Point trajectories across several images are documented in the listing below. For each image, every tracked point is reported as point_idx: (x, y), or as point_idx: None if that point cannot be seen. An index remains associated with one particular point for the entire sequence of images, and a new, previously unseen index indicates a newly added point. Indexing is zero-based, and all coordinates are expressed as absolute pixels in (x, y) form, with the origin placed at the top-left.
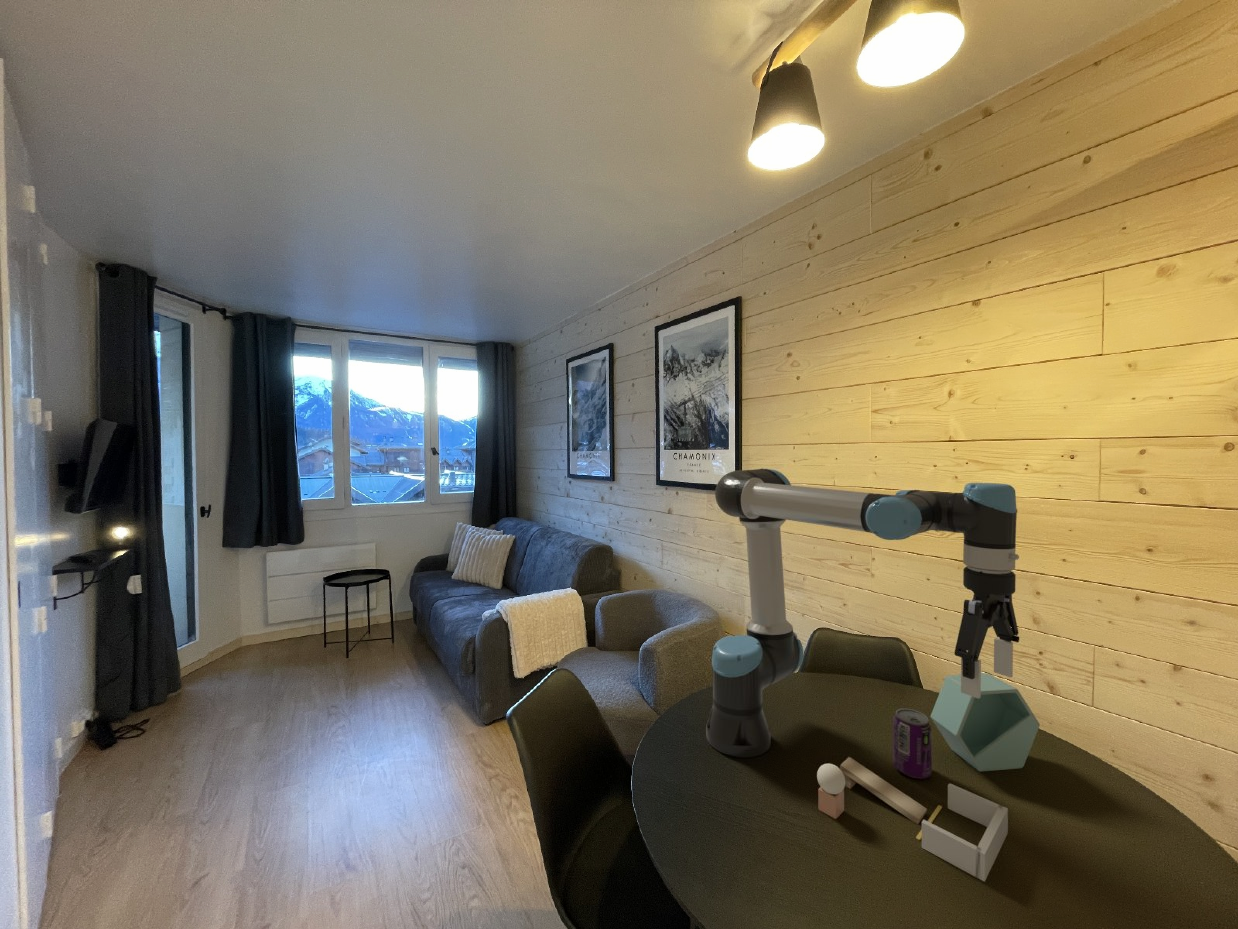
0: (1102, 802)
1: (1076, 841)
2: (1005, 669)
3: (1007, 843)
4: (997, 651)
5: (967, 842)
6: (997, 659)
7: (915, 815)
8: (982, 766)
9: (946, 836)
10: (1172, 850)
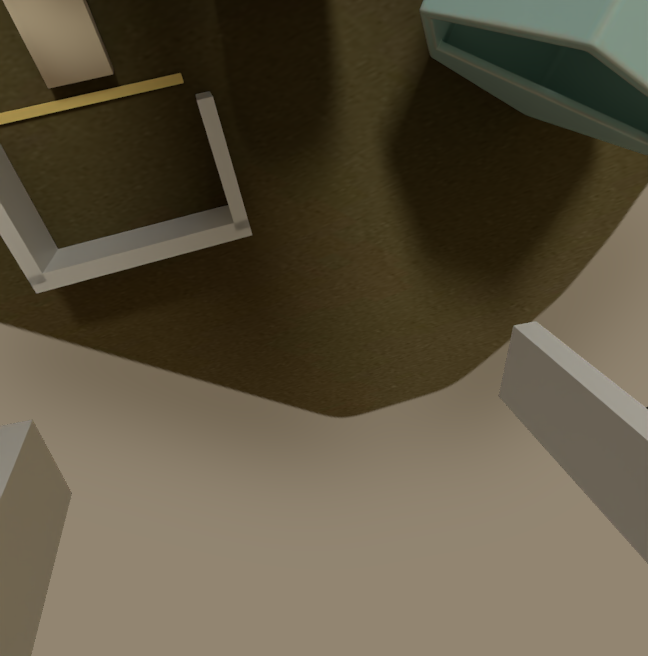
0: (503, 254)
1: (341, 283)
2: (528, 400)
3: None
4: (624, 442)
5: (28, 257)
6: (574, 400)
7: (46, 74)
8: (443, 61)
9: None
10: (441, 348)
